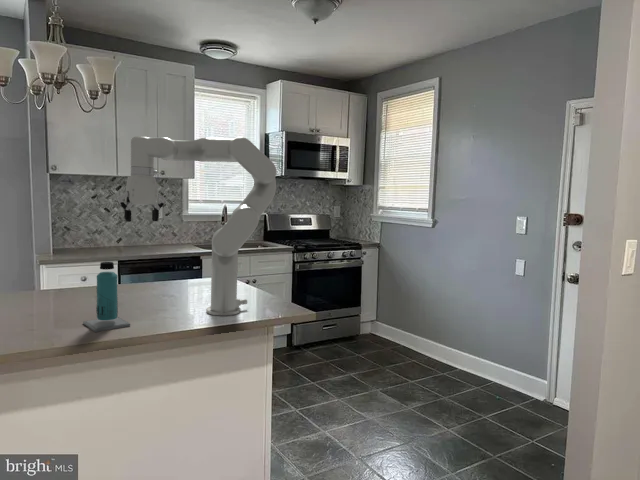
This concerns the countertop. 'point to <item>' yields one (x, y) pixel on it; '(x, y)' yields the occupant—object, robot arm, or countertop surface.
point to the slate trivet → (106, 324)
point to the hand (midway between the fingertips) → (141, 221)
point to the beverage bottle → (106, 293)
